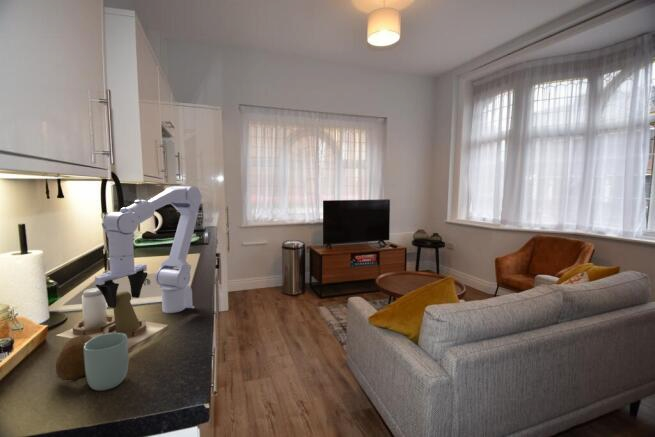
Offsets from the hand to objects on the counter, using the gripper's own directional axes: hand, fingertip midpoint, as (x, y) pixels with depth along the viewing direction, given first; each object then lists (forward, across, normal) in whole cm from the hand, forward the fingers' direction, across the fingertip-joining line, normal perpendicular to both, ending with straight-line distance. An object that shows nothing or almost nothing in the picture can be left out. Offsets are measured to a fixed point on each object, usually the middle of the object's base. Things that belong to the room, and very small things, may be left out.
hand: (124, 301), depth 87 cm
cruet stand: (+10, 0, +4) cm, 11 cm away
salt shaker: (+9, 0, +11) cm, 14 cm away
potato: (+11, -16, -5) cm, 20 cm away
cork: (+8, 0, -1) cm, 8 cm away
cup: (+11, -18, -15) cm, 26 cm away
